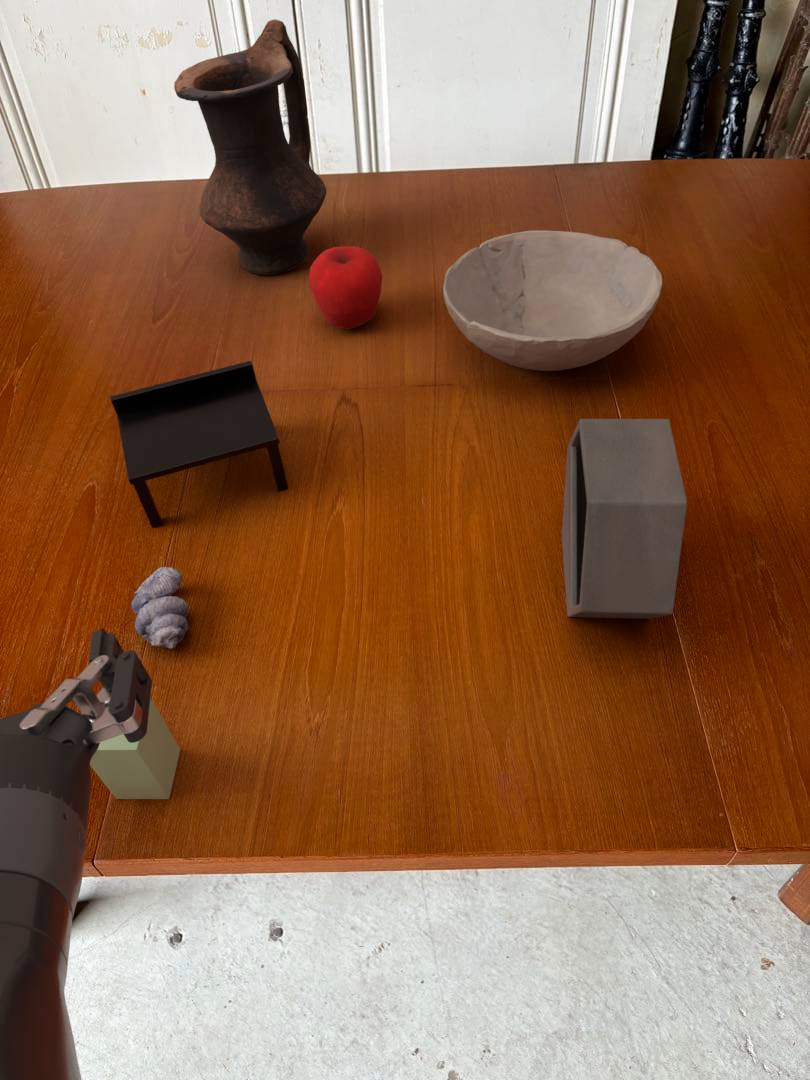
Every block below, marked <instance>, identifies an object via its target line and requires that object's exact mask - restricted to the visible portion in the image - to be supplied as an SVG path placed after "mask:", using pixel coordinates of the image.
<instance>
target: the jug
mask: <svg viewBox="0 0 810 1080" xmlns="http://www.w3.org/2000/svg"><path fill="white" fill-rule="evenodd" d="M173 84H174V86H173V88H174V92H175V94H176V97H178V98H179V99H182V100H185V101H188V102H189V101H190V102H197V104H198V106H199V109H200V112H201V114H202V117H203V119H204V122H205V125H206V129H207V132H208V134H209V138H210V141H211V143H212V146H213V150H214V157H215V162H214V163H215V164H214V167H213V169H212V172H211V173H210V175H209V178H208V180H207V182H206V185H205V187H204V189H203V191H202V194H201V198H200V202H199V214H200V217H201V219H202V221H204V223H205V224H206V225H208V226H209V227H210V228H212V229H213V230H215V231H217V232H219V233H221V234H223V235H224V236H225V237H227V238H228V239H229V240H230V241H232V242H233V243H234V244H235V245H237V247H238V248H239V251H238V255H237V261H238V265H239V266H240V268H241V269H242V270H243V271H244V270H245V271H246V272H248V273H251V274H257V275H265V276H266V275H267V276H268V275H276V274H280V273H283V272H287V271H291V270H293V269H296V268H297V267H298V266H301V265H302V264H303V263H305V261H306V260H307V257H308V255H309V244H308V243H307V241H306V240H305V239H304V234H305V233H306V232H307V230H308V228H309V227H310V225H311V223H312V222H313V220H314V218H315V217H316V216H317V215H318V213H319V212H320V210H321V208H322V206H323V204H324V202H325V199H326V196H327V187H326V185H325V182H324V180H323V179H322V178H321V177H320V176H319V175H318V174H317V173H316V171H314V169H312V166H311V164H310V159H311V158H310V157H311V146H312V145H311V133H310V125H309V118H308V113H309V112H308V104H307V95H306V94H307V93H306V87H305V86H306V85H305V80H304V75H303V67H302V63H301V61H300V57H299V55H298V53H297V51H296V49H295V46H294V44H293V42H292V41H291V38H290V36H289V35H288V31H287V26H286V25H285V23H284V22H283V21H282V20H278V19H277V18H276V19H275V18H274V19H270V20H269V21H267V23H266V24H265V26H264V28H263V29H262V31H261V33H260V34H259V36H258V37H257V39H256V40H255V42H254V43H253V44H252V46H250V47H248V48H247V49H244V50H241V51H237V52H233V53H227V54H224V55H220V56H215V57H212V58H208V59H205V60H202V61H199V62H197V63H195V64H193V65H191V66H189V67H187V68H185V69H183V70H182V71H181V72H180V74H179V75H178V76H177V78H176V80H175V81H174V83H173ZM282 84H283V91H284V95H285V96H284V97H285V103H286V108H287V121H288V123H287V124H288V135H289V139H287V138H286V133H285V130H284V124H283V119H282V113H281V106H280V93H279V86H281V85H282Z"/></svg>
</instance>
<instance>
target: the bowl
mask: <svg viewBox="0 0 810 1080" xmlns="http://www.w3.org/2000/svg"><path fill="white" fill-rule="evenodd" d="M662 276H663V275H662V273H661V272H660V270H659V269H658V267H657V266H656V264H655V263H654V261H653V260H652V258H650V257H649V256H648V255H645V254H643V253H641V252H640V251H639V249H638V248H636V247H634V246H628V243H625V242H623V241H622V240H620V239H616V238H611V237H602V236H598V235H595V234H590V233H583V232H575V231H561V230H545V229H544V230H525V231H519V232H513V233H509V234H503V235H500V236H496V237H493V238H490V239H487V240H485V241H483V242H482V243H481V244H480V245H479V246H478V247H474V248H471V249H469V250H468V251H467V252H465V253H464V254H462V255H461V256H460V257H459V258H458V259H457V260H456V262H454V263H453V264H452V265H451V266H449V268H448V269H447V271H446V272H445V275H444V281H443V285H442V292H443V293H442V294H443V301H444V304H445V307H446V310H447V312H448V314H449V316H450V318H451V319H452V321H453V322H454V324H455V325H456V326H457V328H458V329H459V330H460V332H461V333H462V334H463V336H464V337H465V338H466V339H467V340H468V341H469V342H471V343H472V344H473V345H475V346H476V347H477V348H479V350H481V351H483V352H484V353H486V354H487V355H489V356H491V357H493V358H495V359H497V360H499V361H501V362H503V363H505V364H508V365H511V366H512V367H513V366H514V367H516V368H520V369H524V370H533V371H540V372H554V371H556V372H557V371H566V370H570V369H576V368H579V367H584V366H586V365H590V364H593V363H595V362H597V361H599V360H602V359H603V358H605V357H607V356H609V355H610V354H613V353H614V352H616V351H617V350H619V349H620V348H622V347H623V346H624V345H626V344H627V343H628V342H629V341H631V340H632V339H634V337H636V335H637V334H638V333H639V332H640V331H641V330H642V329H643V328H644V326H645V325H646V323H647V322H648V320H649V319H650V317H651V316H652V314H653V312H654V310H655V308H656V306H657V304H658V302H659V300H660V298H661V295H662V287H663V277H662Z"/></svg>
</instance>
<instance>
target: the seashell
mask: <svg viewBox="0 0 810 1080" xmlns="http://www.w3.org/2000/svg"><path fill="white" fill-rule="evenodd" d="M182 582H183V575H182V573H181V572H180V571H179V570H177V569H176V568H175V567H173V566H172V567H171V566H161V567H158V568H157V569H155V571H153V573H152V574H151V575H150V576H149V577H147V578H146V579H145V580H144V581H143V582H141V584H140V586H139V587H138V588H137V590H136V591H135V592H133V594H134V597H133V599H132V601H131V609H132V611H133V613H134V614H136V618H135V622H134V629H135V631H136V632H137V634H138V636H140V637H141V638H142V639H144V640H145V641H146V642H148V643H149V644H151V647H159V648H164V649H169V650H172V649H176V647H177V644H179V643H180V642H181V641H183V639H184V637H185V634H186V632H187V631H188V630H189V623H188V620H187V618H188V616H189V609H190V607H189V604H188V603H187V602H186V601H185V600H184V599H183V598H182V597H181V598H180V597H178V596H177V595H175V596H174V595H173V594H175V593H176V592H177V591H178V590H179V587H180V586H181V583H182Z"/></svg>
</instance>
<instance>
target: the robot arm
mask: <svg viewBox="0 0 810 1080" xmlns="http://www.w3.org/2000/svg"><path fill="white" fill-rule="evenodd" d="M90 638H91V641H90V647H89V655H88V662H89V664H88V665H87V666H86V667H84V669H83V670H82V672H80V673H79V675H78V676H77V677H75V678H73V677H68V678H66V679H65V680H64V681H62V682H61V684H60V685H59V686H57V688H56V689H55V690H54V691H53V692H52V694H51V695H50V696H48V697H47V698H46V700H45V701H42V702H40V703H36V704H35V705H33V706H31V707H30V708H28V709H26V710H24V711H22V712H17V713H13V714H10V715H7V716H5V717H2V718H0V1080H83V1078H82V1074H81V1070H80V1066H79V1060H78V1055H77V1049H76V1043H75V1037H74V1034H73V1029H72V1024H71V1020H70V1015H69V1014H70V1013H69V1011H68V1006H67V1002H66V1000H67V999H66V994H65V989H66V982H67V975H68V968H69V967H68V966H69V956H70V947H71V938H72V937H71V936H72V928H73V927H72V926H73V921H74V920H73V919H74V915H75V910H76V908H77V903H78V900H79V897H80V893H81V888H82V881H83V877H84V876H83V875H84V865H85V856H86V851H87V846H88V844H87V843H88V842H87V834H88V825H89V824H88V823H89V813H90V806H91V805H90V803H91V794H92V775H91V766H90V761H91V759H92V757H93V755H94V754H95V752H96V751H97V749H98V747H99V744H100V742H103V741H105V740H108V739H111V738H113V737H116V736H119V735H122V734H124V736H125V737H126V739H127V740H128V742H130V743H134V742H137V741H139V740H141V739H142V738H143V737H144V736H145V735H146V733H147V725H148V715H149V705H150V697H152V685H153V679H152V677H151V676H150V674H149V672H148V671H147V669H146V668H145V666H144V664H143V663H142V661H141V659H140V657H139V656H138V654H137V652H136V651H135V650H133V649H128V650H126V651H124V648H123V647H122V645H121V643H120V642H119V640H118V638H117V637H116V635H115V634H114V633H113V632H112V631H111V632H107V631H106V629H105V628H100V629H97V630H95V631H92V632H91V637H90ZM98 681H99V683H100V685H101V686H102V688H101V689H100V690H98V692H97V693H95V691H94V686H95V684H96V683H97V682H98ZM71 701H73V703H74V704H75V706H76V707H77V708H78V710H79V711H80V713H79V712H78V711H76V710H74V709H72V708H70V707H69V706H68V705H69V704H70V702H71Z"/></svg>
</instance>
